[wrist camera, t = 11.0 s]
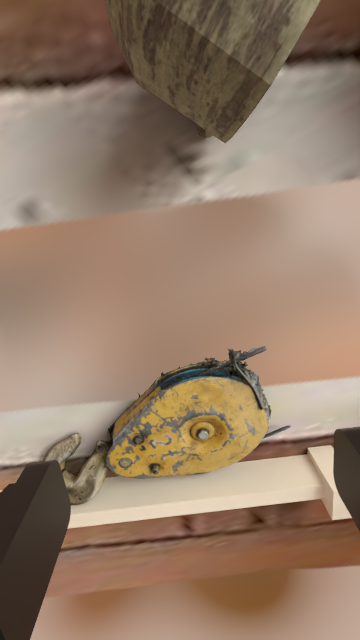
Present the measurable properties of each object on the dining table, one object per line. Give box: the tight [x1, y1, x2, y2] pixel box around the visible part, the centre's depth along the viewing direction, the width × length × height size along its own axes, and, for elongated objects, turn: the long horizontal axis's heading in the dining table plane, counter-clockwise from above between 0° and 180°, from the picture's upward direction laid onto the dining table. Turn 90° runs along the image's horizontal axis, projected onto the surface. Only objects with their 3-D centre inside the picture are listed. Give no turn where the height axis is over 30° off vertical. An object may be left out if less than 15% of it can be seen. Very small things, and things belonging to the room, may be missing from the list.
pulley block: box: [43, 346, 291, 505], centre depth 38 cm, size 14×6×30 cm
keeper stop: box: [0, 445, 352, 529], centre depth 40 cm, size 48×4×7 cm, turn 96°
